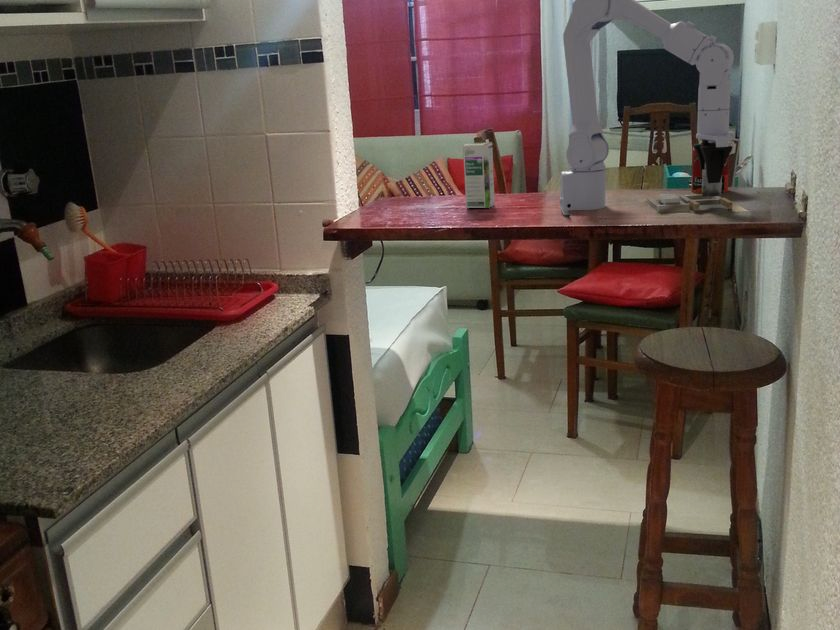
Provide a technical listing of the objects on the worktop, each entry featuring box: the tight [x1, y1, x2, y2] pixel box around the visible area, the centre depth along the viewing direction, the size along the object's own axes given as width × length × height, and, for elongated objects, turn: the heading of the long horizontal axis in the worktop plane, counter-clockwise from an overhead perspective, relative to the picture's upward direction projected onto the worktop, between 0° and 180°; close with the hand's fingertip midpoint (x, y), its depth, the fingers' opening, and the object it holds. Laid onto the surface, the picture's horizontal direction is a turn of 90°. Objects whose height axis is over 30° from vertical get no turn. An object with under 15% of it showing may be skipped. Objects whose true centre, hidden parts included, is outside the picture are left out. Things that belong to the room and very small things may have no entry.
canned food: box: [690, 144, 730, 195], centre depth 181 cm, size 8×8×11 cm
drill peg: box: [702, 165, 722, 197], centre depth 160 cm, size 4×4×7 cm
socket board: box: [643, 194, 749, 216], centre depth 167 cm, size 17×17×3 cm
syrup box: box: [462, 141, 496, 209], centre depth 186 cm, size 6×6×14 cm
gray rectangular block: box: [658, 193, 680, 205], centre depth 166 cm, size 3×6×2 cm, turn 175°
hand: (711, 181), depth 160 cm, fingers closed on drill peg, 4 cm apart
